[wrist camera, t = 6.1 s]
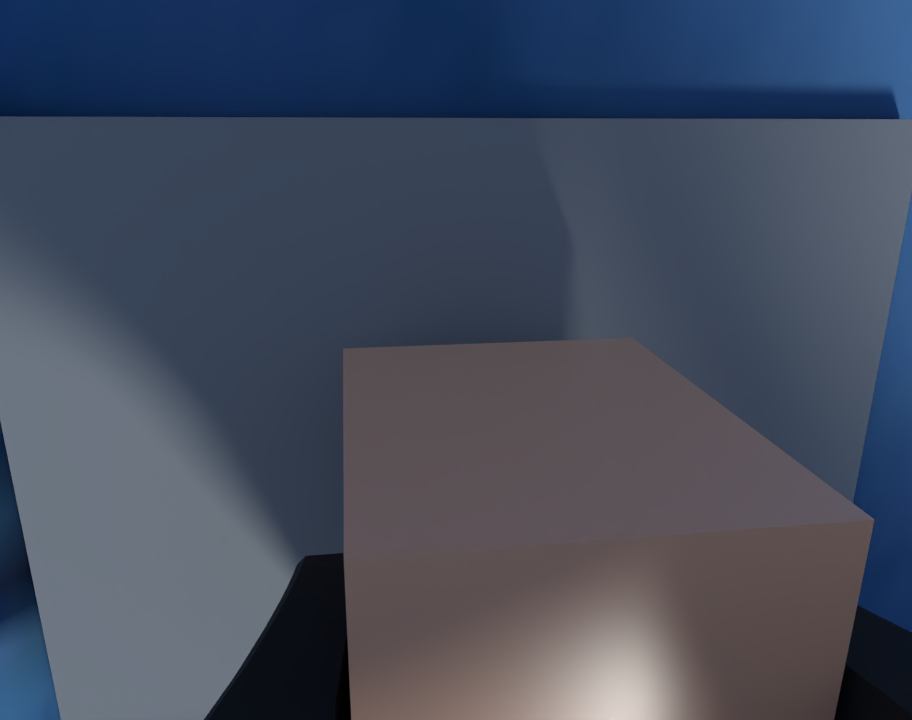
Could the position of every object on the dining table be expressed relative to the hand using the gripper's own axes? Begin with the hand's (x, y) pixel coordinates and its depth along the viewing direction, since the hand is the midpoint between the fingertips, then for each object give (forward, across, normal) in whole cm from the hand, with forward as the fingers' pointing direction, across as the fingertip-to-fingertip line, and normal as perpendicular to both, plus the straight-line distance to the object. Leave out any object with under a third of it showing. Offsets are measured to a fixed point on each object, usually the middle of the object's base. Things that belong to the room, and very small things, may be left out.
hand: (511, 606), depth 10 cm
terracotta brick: (+2, 0, 0) cm, 2 cm away
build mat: (+3, 0, 0) cm, 3 cm away
